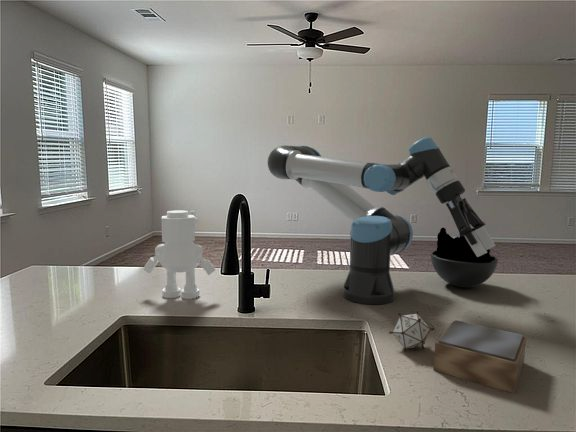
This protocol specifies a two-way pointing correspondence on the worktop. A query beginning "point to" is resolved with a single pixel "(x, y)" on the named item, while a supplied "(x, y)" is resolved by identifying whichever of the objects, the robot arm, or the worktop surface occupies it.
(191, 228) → the robot toy
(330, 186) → the robot arm
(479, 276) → the coal bowl
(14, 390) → the worktop surface
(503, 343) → the walnut framed square mirror
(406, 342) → the game die
